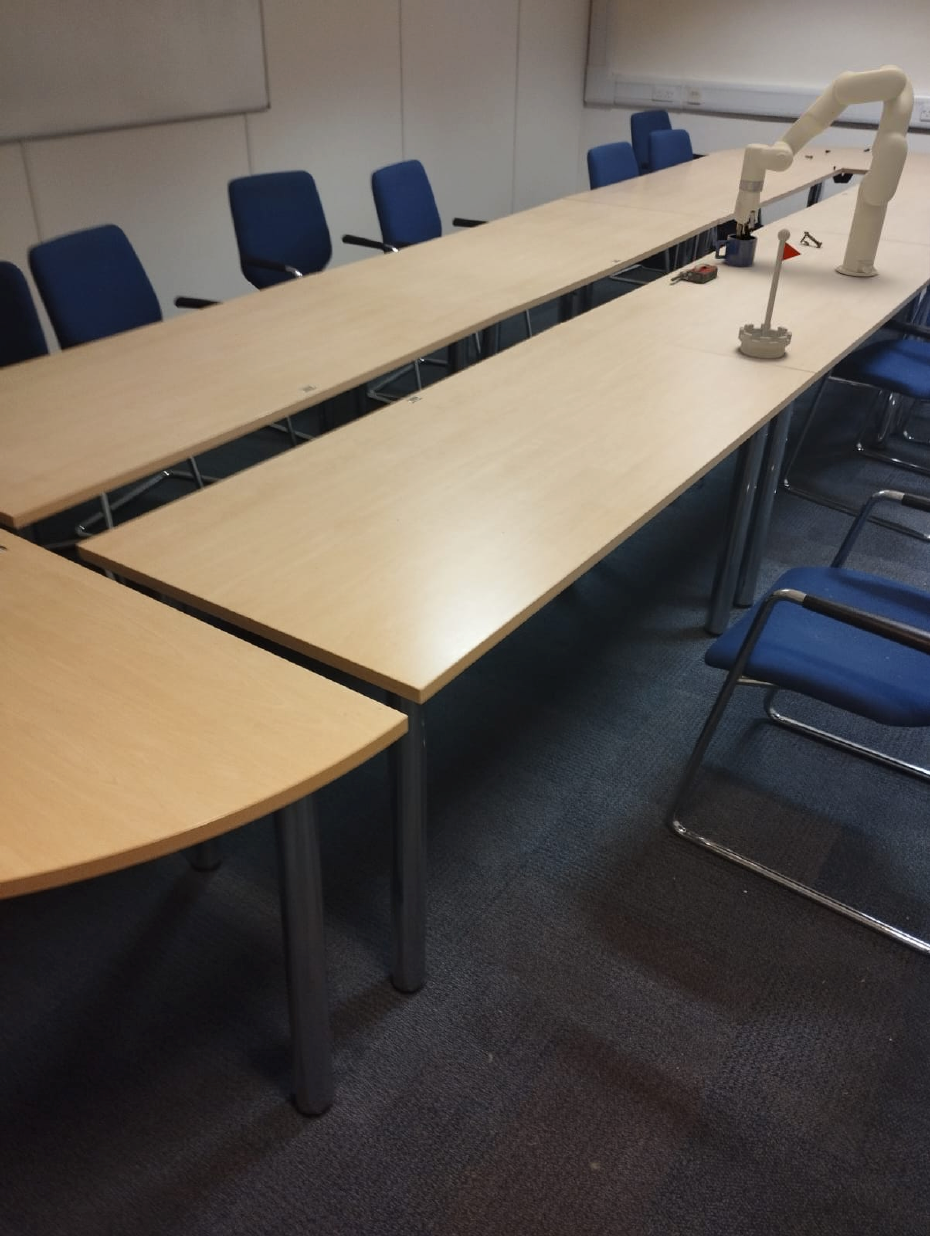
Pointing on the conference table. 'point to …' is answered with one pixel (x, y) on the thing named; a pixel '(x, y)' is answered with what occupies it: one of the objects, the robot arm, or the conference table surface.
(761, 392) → the conference table surface
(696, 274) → the walkie-talkie
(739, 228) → the walnut peg
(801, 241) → the wooden post with brackets
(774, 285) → the flag stand
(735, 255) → the mug
